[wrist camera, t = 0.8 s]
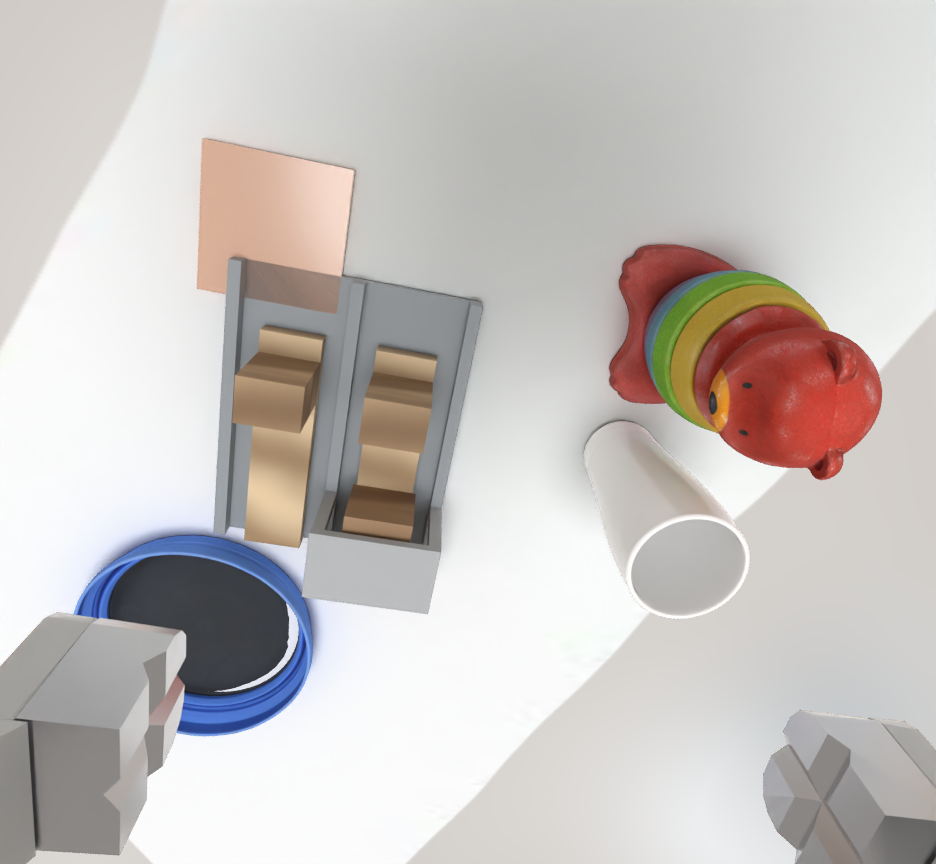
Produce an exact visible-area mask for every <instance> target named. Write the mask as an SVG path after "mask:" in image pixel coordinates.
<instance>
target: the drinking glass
mask: <svg viewBox="0 0 936 864" xmlns="http://www.w3.org/2000/svg"><path fill="white" fill-rule="evenodd" d="M584 465H585V468H586V471H587V473H588V475H589V478H590V481H591V484H592V487H593V491H594V495H595V498H596V502H597V505H598V509H599V513H600V517H601V520H602V524H603V528H604V532H605V535H606V539H607V542H608V545H609V548H610V551H611V554H612V556H613V559H614V561H615V563H616V566H617V568H618V570H619V572H620V574H621V576H622V578H623V580H624V582H625V584H626V586H627V588H628V590H629V592H630V594H631V595H632V597H633V598H634V600H635V601H636V602H637V603H638V604H639V605H640V606H641V607H643V608H644V609H645V610H647V611H649V612H651V613H653V614H655V615H659V616H661V617H666V618H673V619H683V618H692V617H697V616H700V615H703V614H706V613H709V612H711V611H713V610H715V609H716V608H718V607H720V606H721V605H723V604H724V603H725V602H727V601H728V600H729V599H730V598H732V597H733V595H734V594H735V593H736V592H737V591H738V590H739V588H740V587H741V585H742V584H743V582H744V580H745V578H746V575H747V572H748V569H749V563H750V554H749V548H748V545H747V542H746V540H745V538H744V536H743V535H742V533H741V532H740V530H739V529H738V528H737V526H736V524H735V523H734V522H733V520H732V519H731V517H730V516H729V515H728V513H727V512H726V511H725V509H724V508H723V507H722V506H721V504H720V503H719V502H718V501H717V500H716V498H715V497H714V496H713V495H712V494H711V493H710V492H709V491H708V490H707V489H706V488H705V487H704V486H703V485H702V484H701V483H700V482H699V481H698V480H697V479H696V478H695V477H694V476H692V475H691V474H690V473H689V472H688V471H687V470H686V469H685V468H684V467H683V466H682V465H681V464H679V463H678V462H677V461H676V460H675V459H674V458H673V457H672V456H671V455H670V454H669V453H668V452H667V451H666V450H665V449H664V448H662V447H661V446H660V445H659V444H658V443H657V442H656V441H655V439H654V438H653V437H652V435H651V434H650V433H649V432H648V431H647V430H646V429H645V428H643V427H642V426H640V425H638V424H635V423H632V422H627V421H619V422H613V423H609V424H607V425H605V426H603V427H601V428H600V429H598V430H597V431H596V432H595V433H594V434H593V435H592V436H591V437H590V439H589V440H588V442H587V444H586V447H585V450H584Z"/></svg>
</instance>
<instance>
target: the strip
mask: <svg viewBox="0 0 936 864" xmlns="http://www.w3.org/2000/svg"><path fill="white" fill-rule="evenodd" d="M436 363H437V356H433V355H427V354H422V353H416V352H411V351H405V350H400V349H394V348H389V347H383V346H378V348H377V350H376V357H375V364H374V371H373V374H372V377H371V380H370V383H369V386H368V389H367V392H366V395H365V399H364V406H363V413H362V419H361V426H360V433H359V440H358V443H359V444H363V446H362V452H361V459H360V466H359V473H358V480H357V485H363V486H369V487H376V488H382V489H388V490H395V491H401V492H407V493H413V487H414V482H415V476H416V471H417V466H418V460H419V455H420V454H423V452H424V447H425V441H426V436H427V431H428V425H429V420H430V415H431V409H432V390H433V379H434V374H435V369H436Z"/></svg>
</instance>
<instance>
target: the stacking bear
mask: <svg viewBox="0 0 936 864" xmlns="http://www.w3.org/2000/svg"><path fill="white" fill-rule="evenodd" d="M619 286H620V290H621V293H622V295H623V297H624V299H625V301H626V304H627V307H628V311H629V318H630V323H629V330H628V334H627V337H626V340H625V342H624V344H623V346H622V348H621V349H620V350H619V352H618V353H617V354H616V356H615V357H614V358H613V360H612V362H611V365H610V373H611V377H610V380H609V382H610V385H611V386H612V388H613V389H614V390H616V391H617V392H618V394H619V395H620V397H621V398H623V399H624V400H627V401H629V402H634V403H644V404H660V403H667V404H668V405H669V406H670V407H671V408H672V409H673V410H674V411H675V412H676V413H677V414H679V415H680V416H681V417H683V418H684V419H686V420H688V421H689V422H691V423H693V424H695V425H697V426H699V427H702V428H704V429H707V430H710V431H713V432H716V433H718V434H720V436H721V437H722V439H723V440H724V441H725V442H726V443H727V444H728V445H730V446H731V447H732V448H733V449H735V450H736V451H737V452H739V453H741V454H743V455H744V456H746V457H748V458H751V459H753V460H755V461H758V462H760V463H763V464H767V465H771V466H778V467H786V468H808V469H809V470H810V471H811V473H812V475H813V476H814V477H815V478H817V479H819V480H825V479H829V478H831V477H833V476H835V475H836V474H837V473H838V472H839V471H840V470H841V468H842V465H843V454H845V453H846V452H848V451H849V450H850V449H852V448H853V447H854V446H855V445H857V443H859V442H860V441H861V440H862V439H863V438H864V436H865V435H866V434H867V433H868V431H869V430H870V429H871V427H872V426H873V424H874V422H875V420H876V418H877V416H878V414H879V410H880V407H881V400H882V387H881V382H880V378H879V374H878V372H877V369H876V367H875V366H874V364H873V362H872V361H871V359H870V358H869V357H868V355H867V354H866V353H865V352H864V351H863V350H862V349H861V348H860V347H859V346H858V345H857V344H856V343H854V342H853V341H851V340H850V339H848V338H846V337H844V336H842V335H840V334H837V333H834V332H831V331H829V328H828V327H827V325H826V323H825V321H824V320H823V319H822V317H821V316H820V315H819V314H818V312H817V311H816V310H815V309H814V308H813V307H812V306H811V305H810V304H809V303H808V302H806V300H805V299H804V298H803V297H802V296H801V295H799V294H798V293H797V292H796V291H795V290H793V289H792V288H790V287H789V286H787V285H786V284H784V283H782V282H780V281H779V280H777V279H775V278H772V277H770V276H766V275H763V274H760V273H757V272H751V271H742V270H736V269H735V268H734V267H732V266H731V265H729V264H728V263H726V262H725V261H723V260H721V259H720V258H718V257H716V256H714V255H711V254H709V253H706V252H704V251H701V250H697V249H694V248H689V247H684V246H678V245H651V246H645V247H642V248H640V249H638V250H637V251H636V253H635V255H634V256H633V257H631V258H629V259H627V260H626V262H625V263H624V265H623V274H622V276H621V278H620V282H619Z"/></svg>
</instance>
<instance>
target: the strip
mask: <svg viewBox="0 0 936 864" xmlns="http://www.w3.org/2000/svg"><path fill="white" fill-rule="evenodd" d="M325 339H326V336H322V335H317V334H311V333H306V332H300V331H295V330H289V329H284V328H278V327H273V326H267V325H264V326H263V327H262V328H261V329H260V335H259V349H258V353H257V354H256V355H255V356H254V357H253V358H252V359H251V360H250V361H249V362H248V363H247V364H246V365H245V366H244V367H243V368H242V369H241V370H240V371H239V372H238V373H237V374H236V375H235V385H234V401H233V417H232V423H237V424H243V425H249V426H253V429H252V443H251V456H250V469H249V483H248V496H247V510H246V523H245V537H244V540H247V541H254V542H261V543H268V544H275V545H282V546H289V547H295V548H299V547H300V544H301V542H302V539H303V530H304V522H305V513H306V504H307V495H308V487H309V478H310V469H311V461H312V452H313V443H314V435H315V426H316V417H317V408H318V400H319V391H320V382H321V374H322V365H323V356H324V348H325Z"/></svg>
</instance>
